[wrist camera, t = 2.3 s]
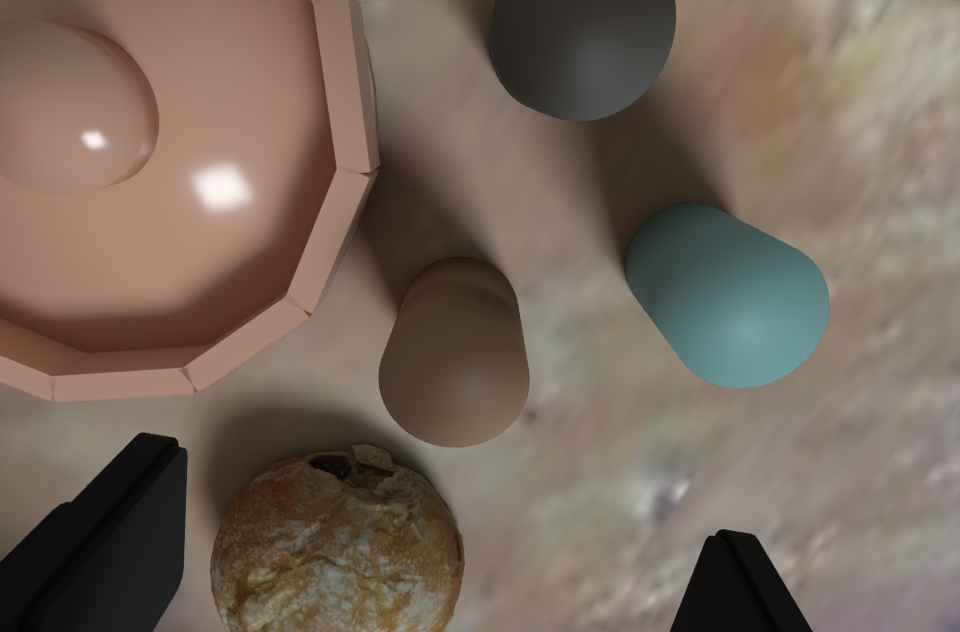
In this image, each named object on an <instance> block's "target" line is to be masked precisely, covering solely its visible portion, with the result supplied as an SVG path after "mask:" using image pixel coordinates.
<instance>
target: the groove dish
mask: <svg viewBox="0 0 960 632" xmlns="http://www.w3.org/2000/svg"><path fill="white" fill-rule="evenodd" d="M377 132H378V118H377V101H376V86H375V81H374V75H373V70H372V64H371V59H370V53H369V48H368V44H367V41H366V38H365V35H364V28H363V19H362V11H361V3H360V2H358V1H357V0H0V382H2V383H4V384H7V385H9V386H12V387H14V388H17V389H19V390H22V391H24V392H27V393H30V394H32V395H35V396H37V397H40V398H42V399H45V400H47V401H50V402H51V401H52V400H53V399H55V402H56V403H58V402H73V401H89V400H105V399H121V398H136V397H152V396H168V395H184V394H195V393H196V392H197V391H198V392H200V391H202V390H203V389H205V388H206V387H208V386H209V385H211V384H212V383H214V382H215V381H217V380H218V379H220V378H221V377H222V376H224V375H225V374H227V373H228V372H230V371H231V370H233V369H234V368H236V367H237V366H239V365H240V364H242V363H243V362H245V361H246V360H248V359H249V358H250V357H252V356H253V355H255V354H256V353H258V352H259V351H261V350H262V349H264V348H265V347H267V346H268V345H270V344H271V343H273V342H274V341H276V340H277V339H279V338H280V337H281V336H283V335H284V334H286V333H287V332H289V331H290V330H292V329H293V328H295V327H296V326H298V325H299V324H301V323H302V322H304V321H305V320H307V319H308V318H309V317H310V316H311V315H312V314H313V312H314V311H315V310H316V308H317V307H318V306H319V304H320V303H321V302H322V301H323V299H324V298H325V297H326V295H327V293H328V291H329V288H330V286H331V284H332V281H333V279H334V276H335V274H336V272H337V269H338V267H339V265H340V262H341V260H342V258H343V256H344V254H345V252H346V250H347V248H348V246H349V245H350V243H351V241H352V239H353V237H354V235H355V233H356V231H357V229H358V226H359V223H360V220H361V217H362V214H363V211H364V209H365V206H366V203H367V200H368V197H369V194H370V192H371V189H372V187H373V184H374V182H375V180H376V177H377V175H378V173H379V170H378V169H376V168H377V167H378V166H379V165H380V159H379V150H378V142H377Z"/></svg>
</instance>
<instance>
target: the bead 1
mask: <svg viewBox="0 0 960 632" xmlns="http://www.w3.org/2000/svg"><path fill="white" fill-rule="evenodd" d="M529 379H530V376H529V368H528V362H527V356H526V350H525V344H524V338H523V332H522V326H521V320H520V314H519V308H518V302H517V298H516V295H515V292H514V290H513V288H512V286H511V284H510V283H509V281H508V280H507V279H506V277H505V276H504V275H503V274H502V273H501V272H500V271H498V270H497V269H496V268H494V267H493V266H491V265H489V264H488V263H486V262H483V261H481V260H478V259H474V258H468V257H452V258H446V259H443V260H439V261H437V262H435V263H433V264H431V265H429V266H427V267H426V268H425V269H423V270H422V271H421V272H420V273H419V274H418V275H417V276H416V277H415V278H414V280H413V281H412V282H411V284H410V286H409V288H408V290H407V292H406V295H405V297H404V300H403V303H402V305H401V308H400V311H399V313H398V316H397V319H396V322H395V324H394V327H393V330H392V332H391V335H390V338H389V340H388V343H387V346H386V348H385V351H384V354H383V356H382V359H381V363H380V367H379V388H380V393H381V397H382V399H383V402H384V405H385V406H386V408H387V410H388V412H389V413H390V415H391V416H392V418H393V419H394V420H395V421H396V422H397V423H398V424H399V426H401V427H402V428H403V429H404V430H405V431H407V432H408V433H409V434H411V435H413V436H414V437H416V438H418V439H420V440H422V441H424V442H427V443H430V444H433V445H438V446H443V447H467V446H473V445H477V444H480V443H483V442H486V441H488V440H490V439H492V438H494V437H496V436H498V435H499V434H501V433H502V432H503V431H505V430H506V429H507V428H508V427H509V426H510V425H511V424H512V423H513V422H514V421H515V420H516V418H517V417H518V415H519V414H520V412H521V411H522V409H523V407H524V405H525V402H526V399H527V396H528V391H529Z"/></svg>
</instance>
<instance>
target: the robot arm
mask: <svg viewBox="0 0 960 632" xmlns="http://www.w3.org/2000/svg"><path fill="white" fill-rule="evenodd" d="M187 457H188V456H187V450H186V449H185V448H181V447H179V444H178V441H177V439H176V438H174V437H168V436H162V435H156V434H150V433H144V432H143V433H139V434H138V435H137V436H136V437H135V438H134V439H133V440H132V441H131V442H130V443H129V444H128V445H127V446H126V447H125V448H124V449H123V450H122V451H121V452H120V453H119V454H118V455H117V456H116V457H115V458H114V459H113V460H112V461H111V462H110V463H109V464H108V465H107V466H106V467H105V468H104V469H103V470H102V471H101V472H100V473H99V474H98V475H97V476H96V477H95V478H94V479H93V480H92V481H91V482H90V483H89V484H88V485H87V487H86V488H85V489H84V490H83V491H82V492H81V493H80V494H79V495H78V496H77V497H76V498H75V499H74V500H73V501H72V502H65V503H62V504H60V505H59V506H57V507H56V508H55V509H54V510H52V511H51V512H50V513H49V514H48V515H47V516H46V517H45V518H44V519H43V520H42V521H41V522H40V523H39V524H38V525H37V526H36V527H35V528H34V529H33V530H32V531H31V532H30V533H29V534H28V535H27V536H26V537H25V538H24V539H23V540H22V541H21V542H20V543H19V544H18V545H17V546H16V547H15V548H14V549H13V550H12V551H11V552H10V553H9V554H8V555H7V556H6V557H5V558H4V559H3V560H2V561H1V562H0V632H153V630H154V628H155V627H156V625H157V623H158V622H159V620H160V618H161V617H162V615H163V613H164V612H165V610H166V608H167V607H168V605H169V603H170V602H171V600H172V598H173V597H174V595H175V594H176V592H177V590H178V588H179V585H180V582H181V579H182V575H183V569H184V544H185V515H186V486H187ZM670 632H813V631H812V630H811V628H810V626H809V625H808V623H807V621H806V619H805V618H804V616H803V614H802V613H801V611H800V609H799V608H798V606H797V604H796V603H795V601H794V599H793V598H792V596H791V594H790V592H789V591H788V589H787V587H786V586H785V584H784V582H783V581H782V579H781V577H780V576H779V574H778V572H777V570H776V569H775V567H774V565H773V564H772V562H771V560H770V559H769V557H768V555H767V554H766V552H765V550H764V549H763V547H762V545H761V543H760V542H759V540H758V539H757V538H756V536H755V535H753V534H749V533H743V532H737V531H731V530H725V529H722V530H719V531H718V532H717V533H716V535H715V536H709V537H708V538H707V539H706V541H705V543H704V545H703V548H702V551H701V553H700V556H699V558H698V561H697V563H696V566H695V569H694V571H693V574H692V576H691V579H690V581H689V584H688V586H687V589H686V592H685V594H684V597H683V599H682V602H681V604H680V607H679V610H678V612H677V615H676V617H675V620H674V622H673V625H672V627H671V630H670Z"/></svg>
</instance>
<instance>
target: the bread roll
mask: <svg viewBox="0 0 960 632" xmlns="http://www.w3.org/2000/svg"><path fill="white" fill-rule="evenodd" d="M464 565H465V559H464V546H463V538H462V535H461V534H460V533H459V530H458V528H457V525H456V524H455V521H454V520H453V518H452V514H451V512H450V511H449V510H448V509H447V508H446V507H445V505H444V504H443V503H442V501H441V499H440V497H439V496H438V494H437V493H436V491H435V490H434V488H433V487H432V486H431V485H430V484H429V483H428V482H427V481H426V480H425V479H424V477H422V476H421V475H419V474H417V473H416V472H414V471H413V470H411V469H409V468H406V467H404V466H400V465H395V464H393V462H392V457H391V455H390V454H389V452H388V451H387V450H385V449H382V448H379V447H375V446H373V445H370V444H366V445H352V450H349V451H330V452H321V453H314V454H310V455H307V456H304V457H292V458H290V459H287V460H284V461H280V462H276V463H274V464H272V465H270V466H268V467H265V468H263V469H261V470H260V471H259V472H258V473H257V474H255V475H254V476H253V477H252V478H251V479H250V480H249V481H248V482H247V483H246V484H245V485H244V486H243V487H242V488H241V489H240V491H239V492H238V493H237V494H236V496H235V497H234V498H233V500H232V501H231V503H230V505H229V506H228V508H227V510H226V512H225V514H224V517H223V519H222V522H221V525H220V528H219V531H218V534H217V537H216V539H215V543H214V547H213V552H212V556H211V566H210V574H211V586H212V593H213V596H214V599H215V605H216V606H217V612H218V614H219V615H220V617H221V620H222V623H223V625H224V628H225V630H226V632H445V629H446V626H447V625H448V624H449V622H450V621H451V620H452V618H453V615H454V609H455V604H456V602H457V600H458V597H459V593H460V589H461V583H462V577H463V571H464Z"/></svg>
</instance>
